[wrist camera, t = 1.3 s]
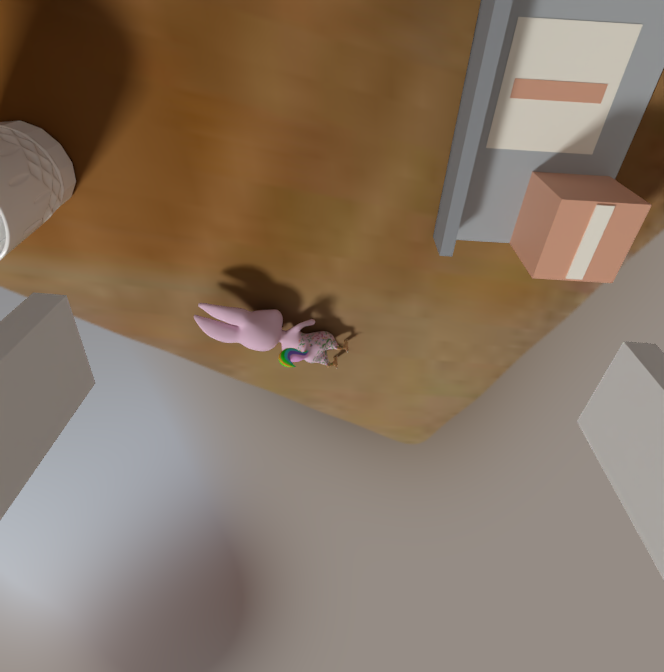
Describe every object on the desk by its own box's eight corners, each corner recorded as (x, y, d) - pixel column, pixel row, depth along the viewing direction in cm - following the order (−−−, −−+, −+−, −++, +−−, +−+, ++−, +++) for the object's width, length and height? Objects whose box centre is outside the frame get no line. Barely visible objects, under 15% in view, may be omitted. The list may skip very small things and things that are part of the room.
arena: (507, -130, 25) (527, -147, 22) (739, -116, 25) (789, -130, 22) (433, 236, 38) (439, 255, 35) (583, 246, 38) (602, 265, 35)
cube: (532, 171, 34) (562, 200, 29) (609, 176, 34) (652, 205, 29) (509, 244, 38) (532, 280, 33) (578, 248, 38) (612, 285, 33)
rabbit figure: (353, 318, 45) (207, 273, 40) (362, 358, 41) (199, 314, 35) (327, 360, 49) (189, 323, 43) (333, 401, 44) (181, 366, 39)
